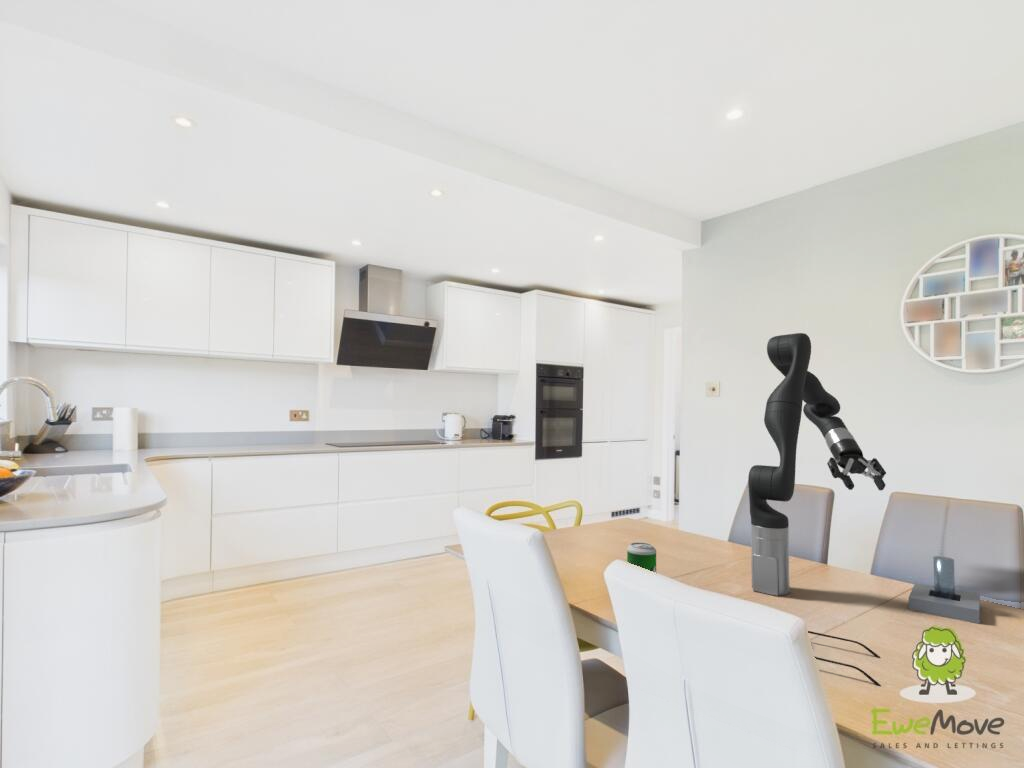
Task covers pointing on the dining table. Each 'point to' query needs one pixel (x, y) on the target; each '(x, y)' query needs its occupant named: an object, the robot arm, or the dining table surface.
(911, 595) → the socket stand
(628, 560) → the soda can
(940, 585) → the steel pin
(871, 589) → the dining table surface
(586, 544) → the dining table surface
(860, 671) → the glasses
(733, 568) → the dining table surface
